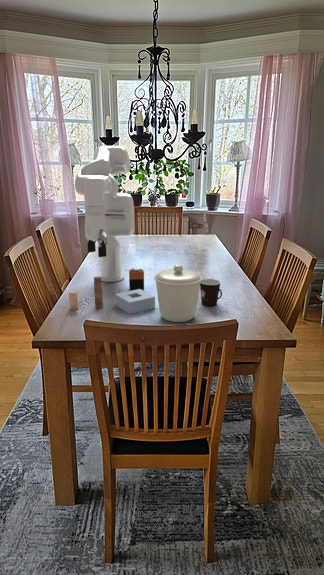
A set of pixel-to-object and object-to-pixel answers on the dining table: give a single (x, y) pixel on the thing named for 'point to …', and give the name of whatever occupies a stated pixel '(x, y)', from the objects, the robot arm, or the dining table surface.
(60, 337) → the dining table surface
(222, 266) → the dining table surface
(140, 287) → the battery
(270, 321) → the dining table surface
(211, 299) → the coffee mug
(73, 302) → the short dowel
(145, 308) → the hole block
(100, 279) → the long dowel
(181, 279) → the canister
